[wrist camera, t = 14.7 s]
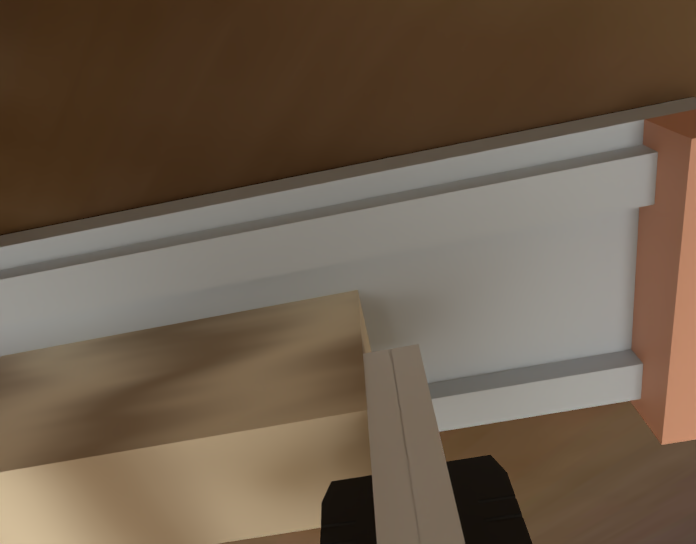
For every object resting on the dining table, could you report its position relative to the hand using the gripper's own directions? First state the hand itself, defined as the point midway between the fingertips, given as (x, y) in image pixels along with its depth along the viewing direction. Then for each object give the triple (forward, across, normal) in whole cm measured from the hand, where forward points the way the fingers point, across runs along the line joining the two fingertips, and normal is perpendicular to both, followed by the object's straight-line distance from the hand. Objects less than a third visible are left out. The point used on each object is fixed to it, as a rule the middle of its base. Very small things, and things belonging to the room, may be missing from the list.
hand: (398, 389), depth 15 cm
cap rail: (+5, -3, 0) cm, 5 cm away
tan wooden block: (+3, -7, 0) cm, 7 cm away
